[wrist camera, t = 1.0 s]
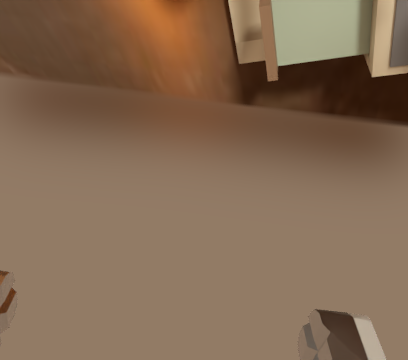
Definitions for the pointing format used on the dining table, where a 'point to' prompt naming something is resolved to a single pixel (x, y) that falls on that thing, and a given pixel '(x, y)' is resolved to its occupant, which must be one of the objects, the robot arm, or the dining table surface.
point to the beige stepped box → (376, 58)
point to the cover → (313, 30)
